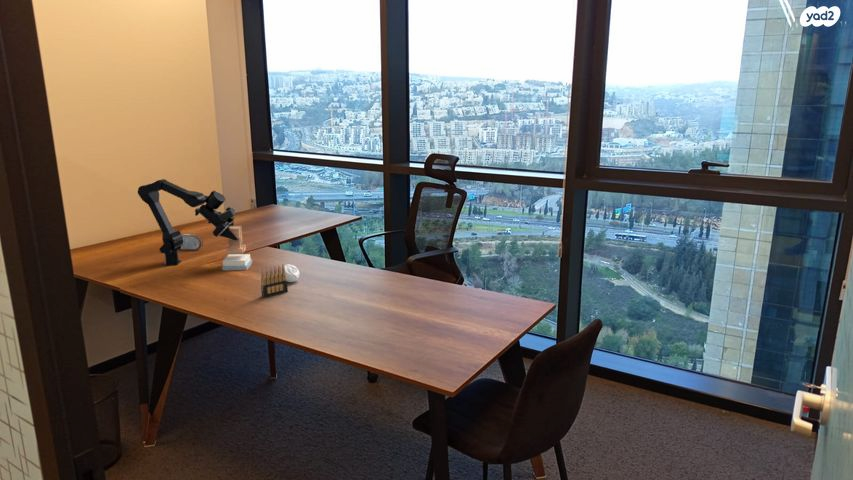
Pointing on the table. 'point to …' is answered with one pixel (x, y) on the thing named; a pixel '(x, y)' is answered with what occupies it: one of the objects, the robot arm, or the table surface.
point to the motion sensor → (291, 273)
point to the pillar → (236, 241)
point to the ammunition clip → (273, 282)
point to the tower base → (237, 267)
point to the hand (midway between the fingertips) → (238, 238)
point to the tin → (191, 242)
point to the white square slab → (236, 260)
